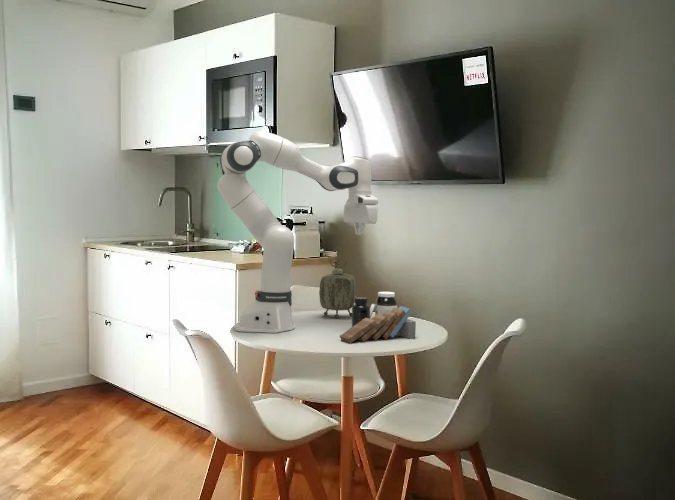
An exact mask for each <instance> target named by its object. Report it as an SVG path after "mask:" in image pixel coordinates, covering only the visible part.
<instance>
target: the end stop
mask: <svg viewBox="0 0 675 500" xmlns="http://www.w3.org/2000/svg"><path fill="white" fill-rule="evenodd" d="M416 322H417V321H415V320H412V319H409V318H407V320H406V321H405V322H404V324H403V325H402V327H401V328H400V329H399V331H398V332H397V333H396V335H395V336H398V337H402V338H404V339H405V338H406V339H409V340H410V339H416Z"/></svg>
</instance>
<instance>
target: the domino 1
mask: <svg viewBox="0 0 675 500" xmlns="http://www.w3.org/2000/svg"><path fill="white" fill-rule="evenodd" d="M376 325H377V324H376V322H375V320H372V318H370V319H369V318H365V319H363V320H362V321H360V322H359V323H357V324H356V325H354V326H353V327H352V326H351V327H350V328H348V329H347V330H346V331H345V332H343V333H341V334H340V335H339V338H340V339H341V342H345V343H348V344H352V343H353V342H355V341H356V339H357V338H359V337H360V336H362V335H363V334H364V333H366V332H367V331H369V330H370V329H372V328H373V327H374V326H376Z"/></svg>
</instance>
